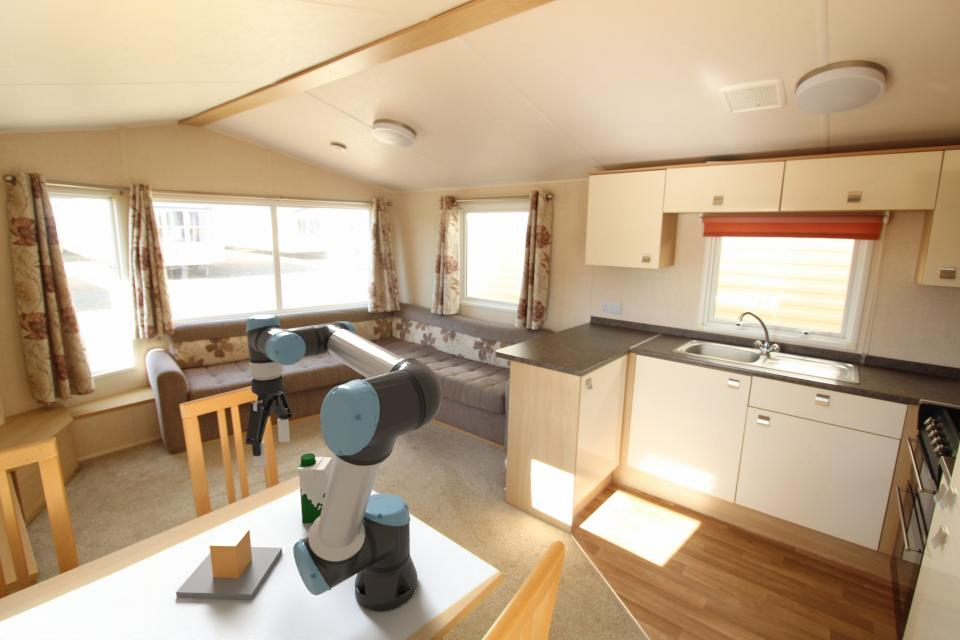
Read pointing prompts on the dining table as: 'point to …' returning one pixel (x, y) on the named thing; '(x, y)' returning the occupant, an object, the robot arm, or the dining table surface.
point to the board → (230, 588)
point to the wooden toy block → (230, 553)
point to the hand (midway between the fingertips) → (272, 453)
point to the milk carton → (313, 485)
